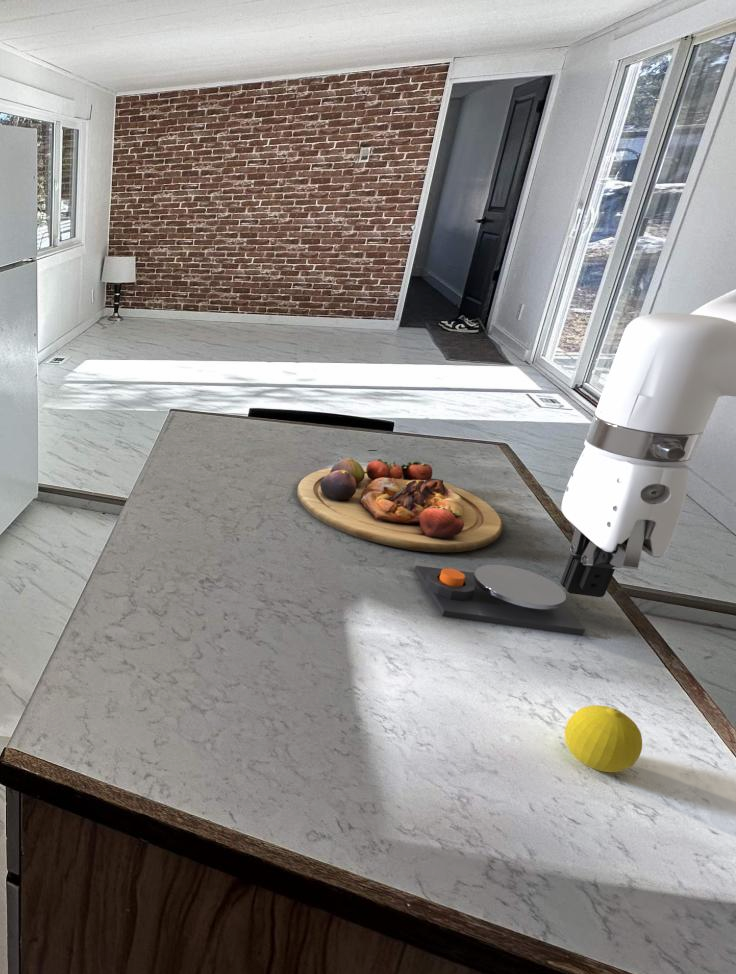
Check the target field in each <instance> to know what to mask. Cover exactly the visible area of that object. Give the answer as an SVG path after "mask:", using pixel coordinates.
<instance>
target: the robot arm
mask: <svg viewBox="0 0 736 974" xmlns="http://www.w3.org/2000/svg"><path fill="white" fill-rule="evenodd" d="M721 397H735V398H736V288H735V289H733V290H731V291H728V292H726V293H725V294H722V295H721V296H718V297H716V298H714V299H712V300H710V301H709V302H706V303H704V304H703V305H702V306H700V307H697V309H695V310H693V311H692V312H691V313H679V312H678V313H677V312H676V313H675V312H674V313H673V312H659V313H657V312H655V313H649V314H643V315H640V316H637V317H635V318H634V319H633V320H631V321H630V322H629V323H628V324H627V325H626V326H625V329H624V331H623V333H622V335H621V338H620V341H619V344H618V347H617V350H616V353H615V355H614V358H613V361H612V364H611V366H610V370H609V372H608V375H607V378H606V381H605V383H604V386H603V388H602V392H601V395H600V398H599V400H598V403H597V406H596V409H595V411H594V414H593V417H592V420H591V423H590V426H589V428H588V431H587V435H586V437H585V440H584V441H583V442H584V443H583V445H584V446H585V447H584V449H583V450H582V452H581V454H580V456H579V457H578V460H577V462H576V464H575V467H574V468H573V471H572V474H571V475H570V478H569V481H568V483H567V486H566V488H565V491H564V494H563V498H562V501H561V507H560V510H561V512H562V514H563V516H564V517H565V519H566V520H567V521H568V523H569V525H570V527H571V528H572V533H573V535H572V539H571V541H570V545H569V552H570V555H569V558H568V560H567V563H566V566H565V569H564V572H563V574H562V575H561V579H560V582H559V583H560V585H561V586H562V588H564V589H565V591H566V592H567V593H568V594H570V595H571V594H572V595H577V596H587V597H593V598H603V597H604V596H605V595H606V593H607V590H608V587H609V585H610V582H611V580H612V578H613V576H614V573H615V571H616V570H619V569H621V570H630V571H637V570H638V569H639V566H640V560H641V556H642V551H643V552H644V553H645V554H647V555H648V556H650V557H652V558H656V559H660V558H663V557H664V556H665V555H666V554H667V552H668V550H669V549H670V546H671V543H672V540H673V538H674V536H675V534H676V533H675V532H676V530H677V527H678V524H679V521H680V518H681V515H682V513H683V512H682V511H683V508H684V505H685V501H686V497H687V493H688V488H689V481H690V470H691V469H690V467H689V466H688V465H690V464H691V462H692V460H693V457H694V454H696V450H697V448H698V446H699V443H700V442H701V440H702V439H701V438H702V437H703V434H704V431H705V429H706V428H707V425H708V422H709V420H710V418H711V415H712V413H713V412H714V411H713V410H714V409H715V406H716V404H717V401H718V399H719V398H721Z"/></svg>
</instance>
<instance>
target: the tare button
mask: <svg viewBox="0 0 736 974" xmlns="http://www.w3.org/2000/svg"><path fill="white" fill-rule="evenodd" d="M442 569H443V570H442V571H441V574H440V578H439V580H440V581H441V582H443V583H444V584H447V585H450V586H455V587H462V586H463V583H464V580H465V575H464V574H463V573H462V572H460V571H461V570H457V569H454V568H448V567H447V568H442Z"/></svg>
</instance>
